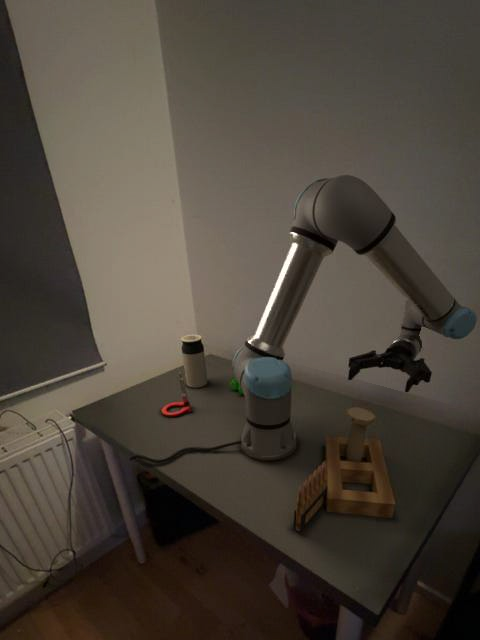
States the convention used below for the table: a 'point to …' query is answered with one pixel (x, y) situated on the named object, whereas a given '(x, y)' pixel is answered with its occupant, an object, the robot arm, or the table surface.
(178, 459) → the table surface
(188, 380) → the travel mug
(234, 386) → the green lumpy cluster
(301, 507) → the ammunition clip
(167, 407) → the tow hook
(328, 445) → the rack
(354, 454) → the handle
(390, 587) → the table surface
